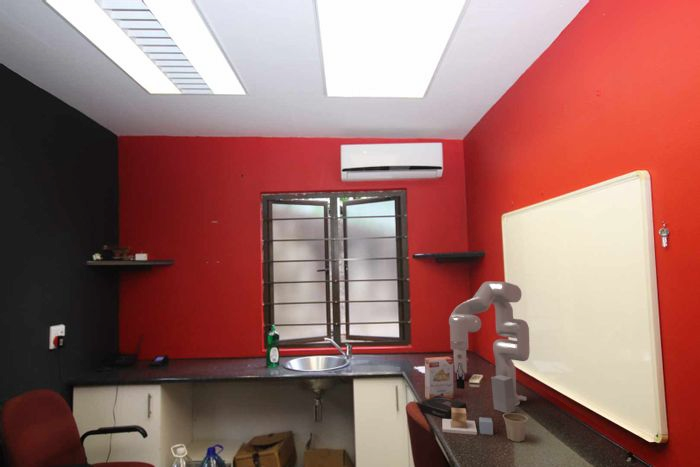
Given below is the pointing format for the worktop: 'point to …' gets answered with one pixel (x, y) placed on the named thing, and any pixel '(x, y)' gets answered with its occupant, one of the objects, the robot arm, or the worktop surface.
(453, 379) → the plant pot
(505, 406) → the skincare box
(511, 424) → the flower pot
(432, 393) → the cracker box
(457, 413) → the oak block
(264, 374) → the worktop surface
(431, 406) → the portable cd player
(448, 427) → the board
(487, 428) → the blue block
